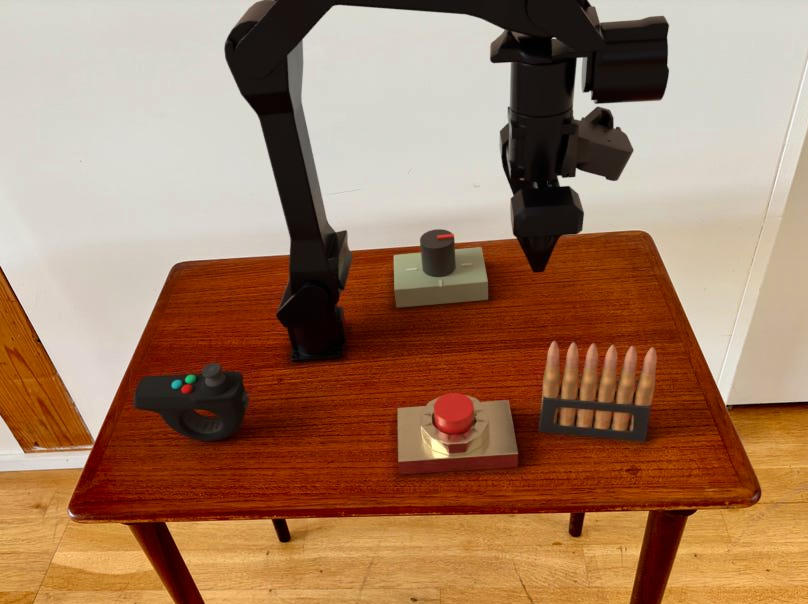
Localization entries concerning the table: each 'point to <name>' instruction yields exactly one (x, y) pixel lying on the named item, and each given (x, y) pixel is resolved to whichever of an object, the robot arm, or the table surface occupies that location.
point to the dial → (438, 253)
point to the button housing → (456, 440)
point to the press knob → (454, 413)
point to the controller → (196, 401)
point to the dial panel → (440, 280)
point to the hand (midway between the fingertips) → (533, 246)
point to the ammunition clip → (597, 395)
